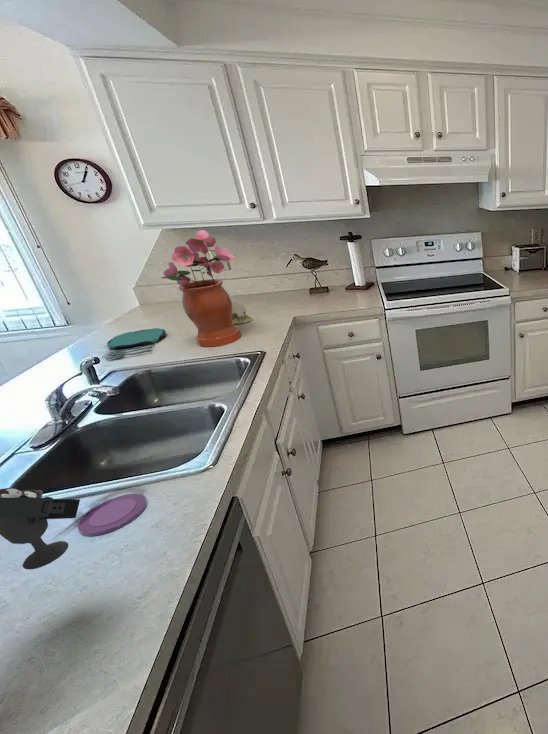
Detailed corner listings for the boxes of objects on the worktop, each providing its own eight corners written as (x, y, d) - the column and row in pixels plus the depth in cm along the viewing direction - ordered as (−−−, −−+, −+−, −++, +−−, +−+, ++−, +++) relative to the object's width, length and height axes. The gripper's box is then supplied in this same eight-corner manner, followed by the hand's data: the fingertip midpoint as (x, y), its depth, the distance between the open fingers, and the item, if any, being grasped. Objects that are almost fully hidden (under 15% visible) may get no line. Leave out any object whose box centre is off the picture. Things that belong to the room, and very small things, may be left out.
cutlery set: (171, 329, 189) (169, 324, 188) (157, 352, 165) (155, 347, 164) (116, 338, 181) (114, 333, 180) (93, 363, 157) (91, 358, 156)
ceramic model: (249, 315, 204) (243, 296, 200) (254, 321, 197) (248, 301, 192) (216, 322, 196) (209, 302, 192) (220, 328, 188) (213, 308, 184)
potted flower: (260, 339, 175) (227, 230, 156) (188, 355, 162) (143, 238, 143) (253, 327, 189) (223, 225, 170) (187, 340, 176) (146, 232, 157)
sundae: (17, 554, 62) (-43, 478, 56) (76, 530, 66) (27, 456, 60) (10, 584, 58) (-55, 505, 51) (75, 556, 62) (21, 479, 55)
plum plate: (64, 535, 82) (62, 532, 82) (114, 495, 92) (112, 492, 92) (114, 537, 82) (112, 534, 81) (160, 497, 91) (158, 493, 91)
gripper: (-310, 565, 39) (-31, 544, 61) (-81, 545, 41) (112, 531, 62) (-268, 484, 42) (-14, 491, 63) (-54, 468, 43) (123, 480, 65)
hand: (48, 511), depth 63 cm, fingers closed on sundae, 7 cm apart
